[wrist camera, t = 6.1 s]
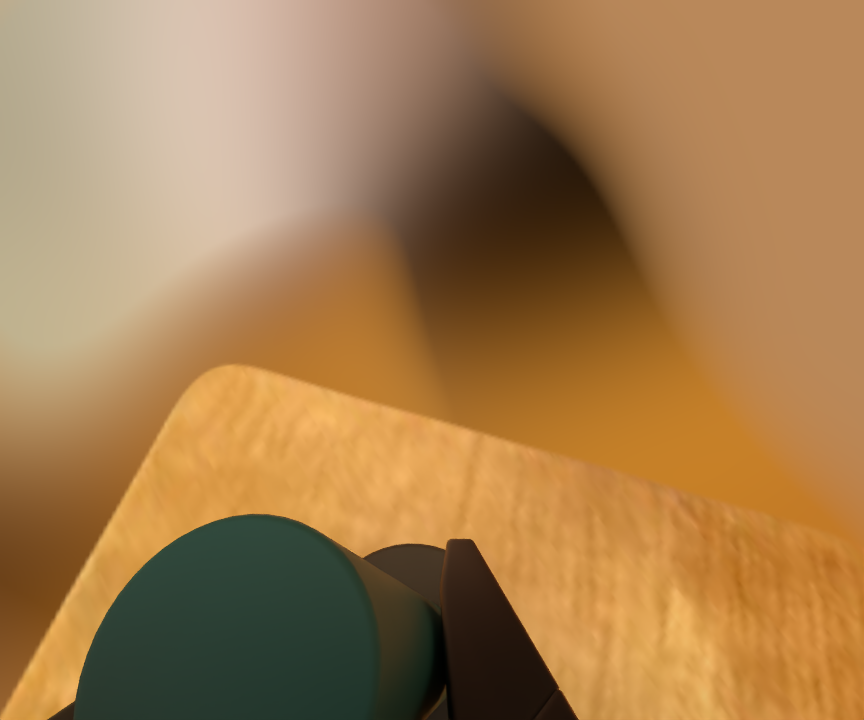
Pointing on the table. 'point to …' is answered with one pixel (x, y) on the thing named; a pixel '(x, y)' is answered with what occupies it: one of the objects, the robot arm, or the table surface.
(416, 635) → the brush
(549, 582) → the table surface
